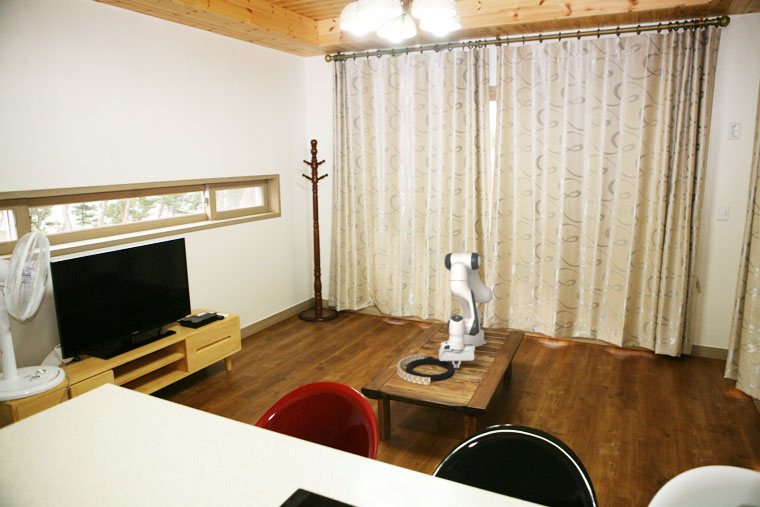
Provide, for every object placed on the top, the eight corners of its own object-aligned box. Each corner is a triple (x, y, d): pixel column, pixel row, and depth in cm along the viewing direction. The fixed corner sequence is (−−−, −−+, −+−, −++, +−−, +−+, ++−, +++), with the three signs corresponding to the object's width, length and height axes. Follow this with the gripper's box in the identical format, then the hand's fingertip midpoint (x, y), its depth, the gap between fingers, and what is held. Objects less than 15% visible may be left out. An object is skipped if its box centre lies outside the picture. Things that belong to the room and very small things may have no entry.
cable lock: (404, 375, 282) (406, 355, 312) (404, 381, 283) (406, 361, 312) (455, 376, 280) (453, 356, 309) (455, 383, 280) (453, 362, 310)
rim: (395, 359, 314) (395, 354, 314) (424, 359, 315) (424, 353, 314) (398, 385, 278) (398, 379, 277) (430, 384, 278) (430, 378, 277)
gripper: (473, 342, 297) (473, 365, 299) (438, 342, 297) (438, 365, 299) (476, 346, 291) (475, 369, 293) (439, 346, 290) (439, 370, 293)
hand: (456, 367), depth 296 cm, fingers closed
